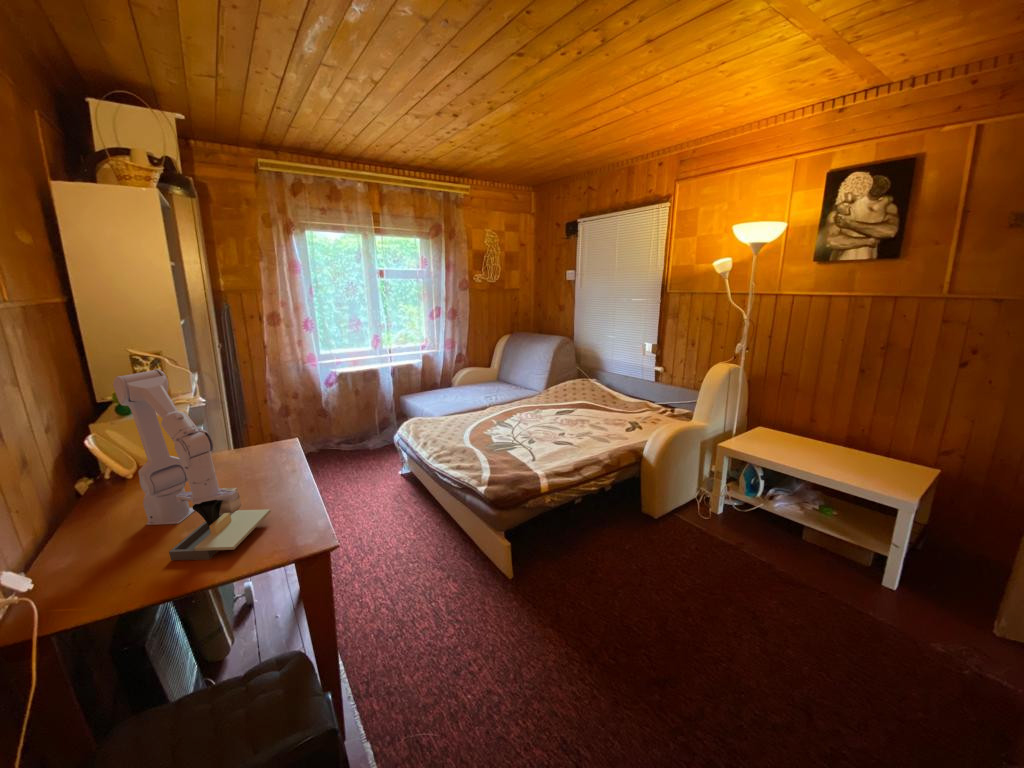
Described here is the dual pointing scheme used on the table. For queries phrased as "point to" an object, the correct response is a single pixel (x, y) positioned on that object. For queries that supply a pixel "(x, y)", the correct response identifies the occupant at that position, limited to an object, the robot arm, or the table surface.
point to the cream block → (230, 503)
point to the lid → (231, 529)
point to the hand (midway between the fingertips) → (214, 524)
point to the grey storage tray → (193, 545)
